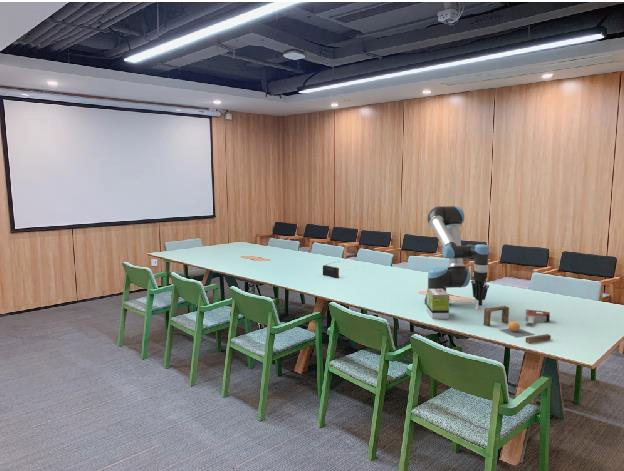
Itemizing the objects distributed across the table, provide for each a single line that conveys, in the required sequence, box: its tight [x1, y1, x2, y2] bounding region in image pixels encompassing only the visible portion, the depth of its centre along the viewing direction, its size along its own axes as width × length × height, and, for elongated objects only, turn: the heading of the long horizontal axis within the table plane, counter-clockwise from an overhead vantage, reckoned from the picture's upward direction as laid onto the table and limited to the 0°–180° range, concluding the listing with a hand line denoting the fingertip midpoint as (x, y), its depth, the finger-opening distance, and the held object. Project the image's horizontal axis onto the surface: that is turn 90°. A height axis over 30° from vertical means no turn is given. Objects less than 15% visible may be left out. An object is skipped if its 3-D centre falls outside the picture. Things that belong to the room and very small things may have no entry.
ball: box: [508, 321, 521, 332], centre depth 235 cm, size 6×6×6 cm
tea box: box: [426, 288, 450, 320], centre depth 264 cm, size 15×10×15 cm, turn 178°
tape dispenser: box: [525, 308, 551, 328], centre depth 253 cm, size 18×5×20 cm
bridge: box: [483, 305, 510, 327], centre depth 248 cm, size 3×14×9 cm, turn 110°
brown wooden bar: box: [525, 333, 552, 344], centre depth 221 cm, size 2×14×2 cm, turn 110°
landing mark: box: [499, 327, 535, 338], centre depth 234 cm, size 12×12×1 cm
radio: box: [322, 261, 340, 279], centre depth 373 cm, size 19×3×15 cm, turn 43°
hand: (478, 310), depth 262 cm, fingers closed
